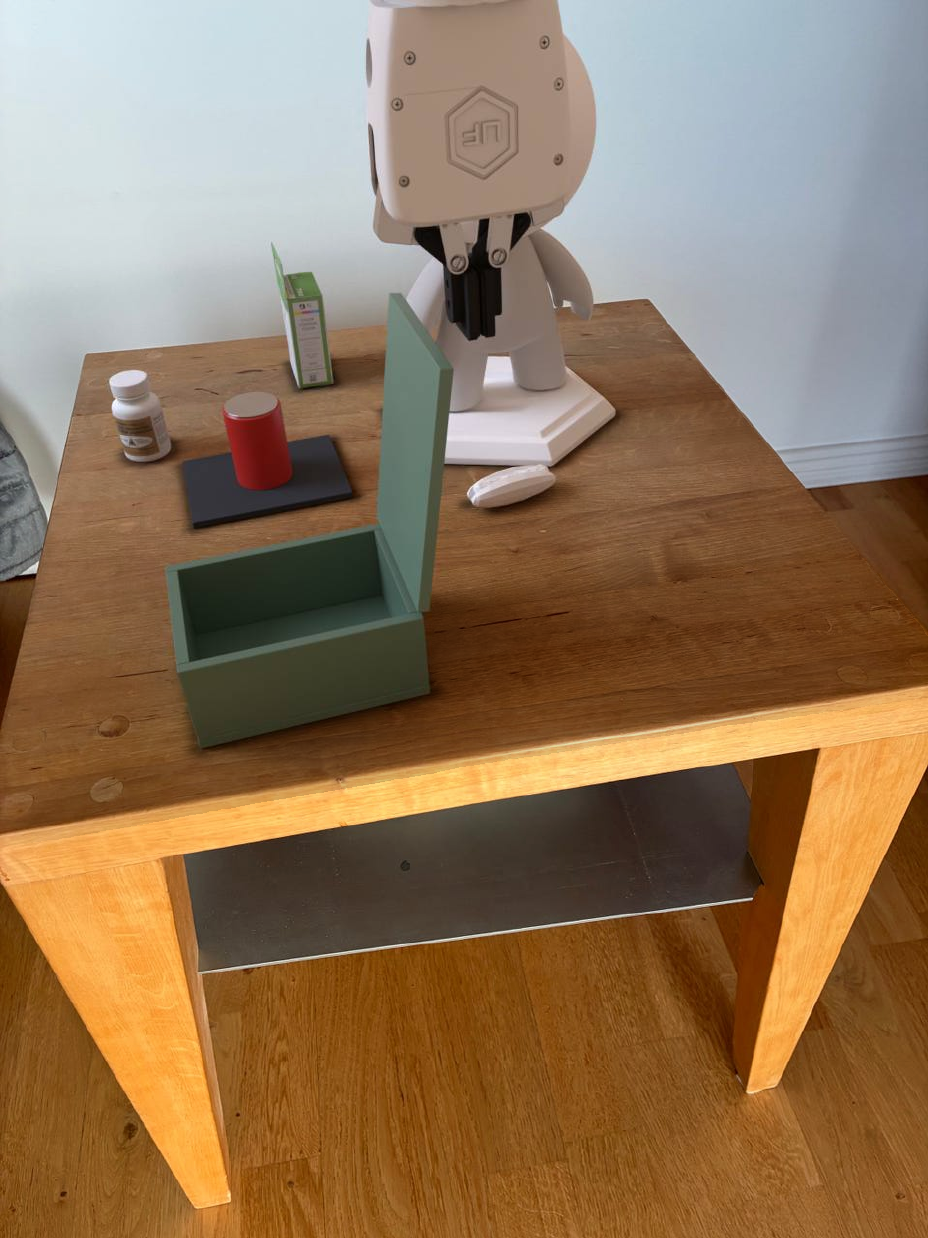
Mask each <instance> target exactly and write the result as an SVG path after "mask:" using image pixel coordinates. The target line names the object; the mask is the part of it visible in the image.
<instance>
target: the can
mask: <svg viewBox="0 0 928 1238" xmlns="http://www.w3.org/2000/svg"><path fill="white" fill-rule="evenodd" d="M221 411H222V417H223V421H224V425H225V430H226V434H227V439H228V444H229V448H230V452H231V453H232V458H233V462H234V467H235V471H236V476H237V480H238V483H239V484H240V485H241V486H243V487H244V488H247V489H251V490H268V489H272V488H276V487H278V486H281V485H283V484H284V483H286V482H287V481H288V480H289V479H290V478H291V476H292V466H291V460H290V455H289V449H288V443H287V442H288V438H287V432H286V427H285V421H284V416H283V411H282V404H281V401H280V399H279V398H278V397H277V396H276V395H273V394H272V393H271V392H270V393H269V392H266V391H249V392H248V391H247V392H244V393H240V394H237V395H234V396H233V397H231V398H229V399H228V400H226V402H225V403H224V404H223V406H222V410H221Z"/></svg>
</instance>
